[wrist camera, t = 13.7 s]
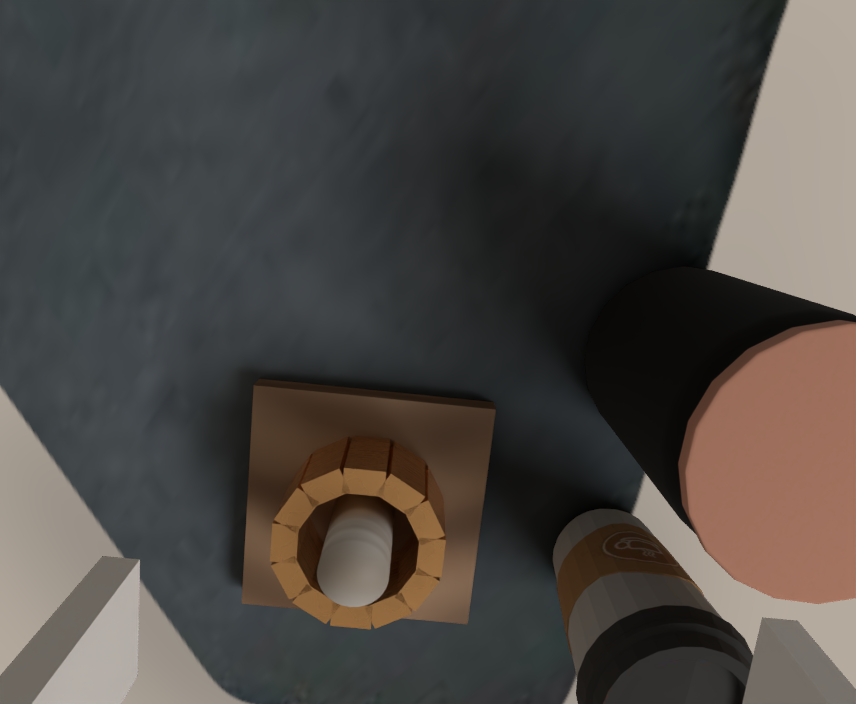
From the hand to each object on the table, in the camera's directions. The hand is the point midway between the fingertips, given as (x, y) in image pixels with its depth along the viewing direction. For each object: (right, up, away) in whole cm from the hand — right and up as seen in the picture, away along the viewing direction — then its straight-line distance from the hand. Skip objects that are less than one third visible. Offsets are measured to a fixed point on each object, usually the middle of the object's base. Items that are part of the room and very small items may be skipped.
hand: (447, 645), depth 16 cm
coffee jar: (+14, +6, +28) cm, 32 cm away
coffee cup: (+11, -6, +31) cm, 34 cm away
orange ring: (-4, -3, +29) cm, 29 cm away
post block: (-4, -3, +30) cm, 31 cm away
